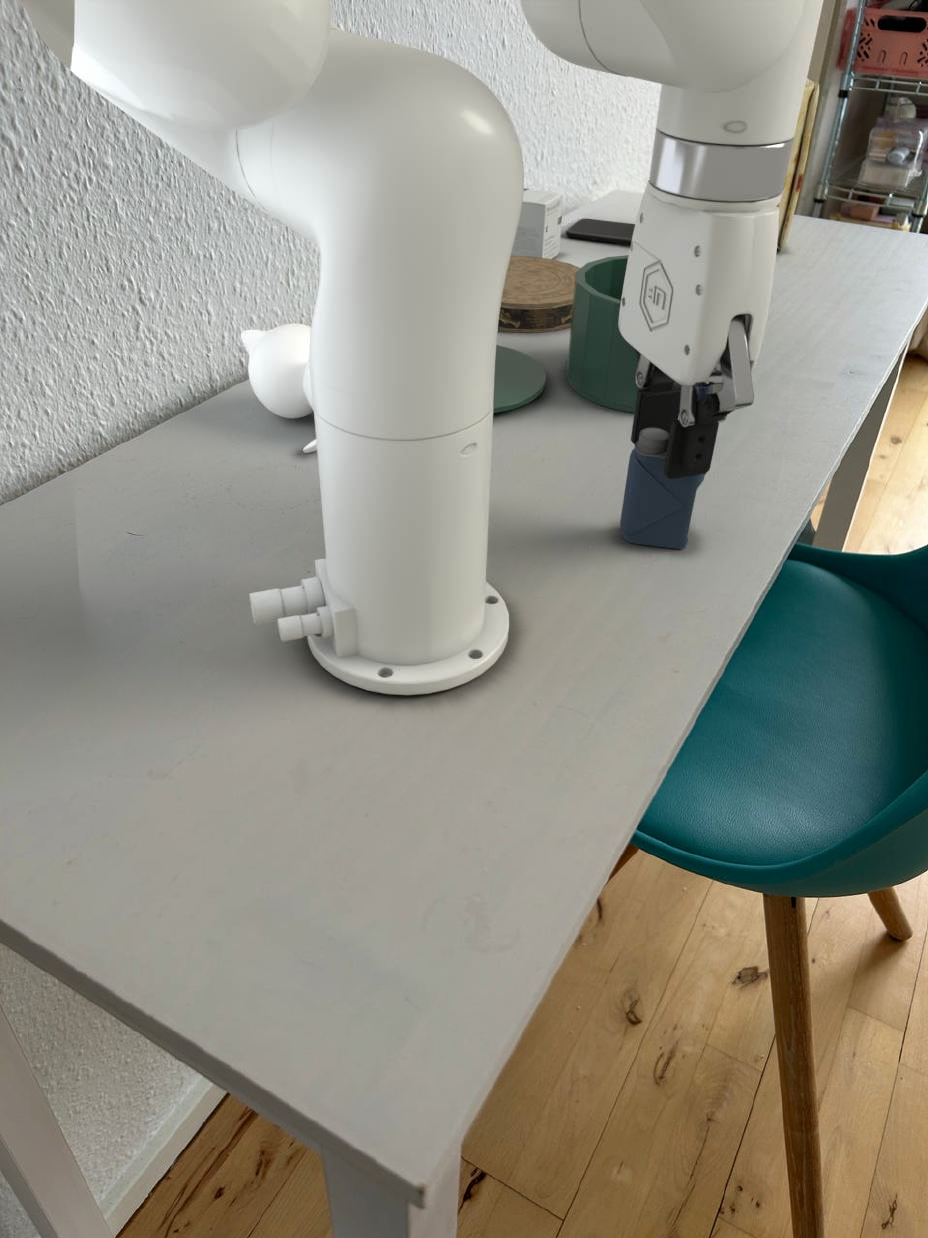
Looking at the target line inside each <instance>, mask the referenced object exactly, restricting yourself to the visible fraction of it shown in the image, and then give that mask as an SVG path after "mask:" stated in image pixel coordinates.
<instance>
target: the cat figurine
mask: <svg viewBox="0 0 928 1238" xmlns="http://www.w3.org/2000/svg"><path fill="white" fill-rule="evenodd" d="M310 332H311V326H309V325H306V324H302V323H296V322H295V323H286V324H285V323H284V324H281V325H278V326H275V327H274V328H271V329H269V330H260V329H245V330H242V332H241V333H240V338H241V341H242V344H243V345H244V348H245V349H246V351H247V353H248V364H247V365H248V367H247V369H248V370H247V371H248V372H247V373H248V379H249V383H250V387H251V389H252V390H253V392H254V395H255V396H256V397H257V399H258V401H259V402H260V403H261V404H262V405H263V406H264V407H265V408H266V409H267V410H268V411H270V412H271V413H273V414H274V415H276V416H279V417H281V418H286V419H300V418H304V417H306V416H309V415H311V414H312V413H314V408H313V403H312V391H311V378H310ZM302 452H303V453H305V454H310V453H313V452H317V442H316V438H315V439H313V440H312V441H311V442H309V443H308V444H307V445H305V446H304V447H303V449H302Z"/></svg>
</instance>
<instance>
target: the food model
mask: <svg viewBox="0 0 928 1238" xmlns="http://www.w3.org/2000/svg"><path fill="white" fill-rule="evenodd" d="M819 95H820V84H819V82H816V81H813V80H810V79H809V78H808V77H807V80H806V85H805V89H804V94H803V99H802V103H801V108H800V112H799V117H798V121H797V126H796V131H795V135H794V142H793V147H792V152H791V156H790V161H789V166H788V170H787V175H786V180H785V185H784V189H783V194H782V198H781V202H780V203H779V205H777V207H778V208H779V227H778V241H777V248H778V249H779V251H783V250H785V248H786V246H787V243H788V239H789V235H790V232H791V227H792V223H793V219H794V215H795V212H796V207H797V203H798V199H799V195H800V191H801V187H802V182H803V179H804V173H805V169H806V164H807V159H808V155H809V149H810V148H809V147H810V142H811V141H810V140H811V138H812V131H813V127H814V122H815V117H816V112H817V108H818V102H819Z"/></svg>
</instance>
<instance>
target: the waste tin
mask: <svg viewBox="0 0 928 1238" xmlns="http://www.w3.org/2000/svg"><path fill="white" fill-rule="evenodd" d="M628 256H629V254H626V255H625V254H624V255H615V256H614V255H613V256H606V257H603V258H600V259H596V260H592V261H588V262H587V263H585V264H584V265H583V266H581V267H579V268H580V269H579V270H578V271H577V272H576V276H575V287H574V298H573V309H572V320H571V327H570V331H569V344H568V355H567V364H566V366H567V367H566V368H567V372H566V373H567V374H566V375H567V376H566V378H567V382H568V384H569V386H570V387H571V388H572V389H573V390H574V391H575V392H576V393H577V394H578V395H580V396H581V397H583V398H584V399H586V400H588V401H590V402H592V403H594V404H597V405H600V406H602V407H604V408H605V407H606V408H609V409H611V410H612V409H613V410H616V411H621V412H627V413H632V414H633V413H635V406H636V399H637V392H638V390H642V389H643V388H639V387H638V386H637V384H636V380H635V376H636V371H637V367H638V363H639V362H638V358H637V354H636V352H635V348H634V347H633V346H631V345H630V344H629V343H628V342H627V341H626V340H625V339H624V338H623V336H622V334H621V333H620V330H619V326H618V322H619V312H620V304H621V298H622V291H623V285H624V279H625V273H626V267H627V262H628ZM714 370H715V368H714ZM674 385H680V384H678V383H675V384H674ZM711 390H712V388H711Z"/></svg>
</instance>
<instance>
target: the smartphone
mask: <svg viewBox="0 0 928 1238" xmlns="http://www.w3.org/2000/svg"><path fill="white" fill-rule="evenodd" d="M634 228H635V223H630V222H620V221H612V220H605V219H603V220H602V219H596V218H595V219H594V218H580V219H578V220H577V221H576V222H575V223H573V224H572V225H571V226H570V227H568V229H567V230H566V236H567V237H569V238H575V239H582V240H583V239H584V240H591V241H599V242H606V243H617V244H623V245H625V244H626V245H631V241H632V236H633V232H634Z"/></svg>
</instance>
